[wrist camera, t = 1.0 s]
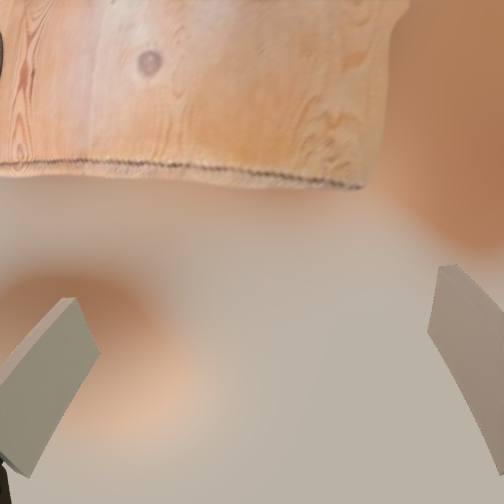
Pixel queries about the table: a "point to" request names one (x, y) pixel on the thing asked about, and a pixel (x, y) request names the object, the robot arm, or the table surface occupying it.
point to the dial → (1, 53)
